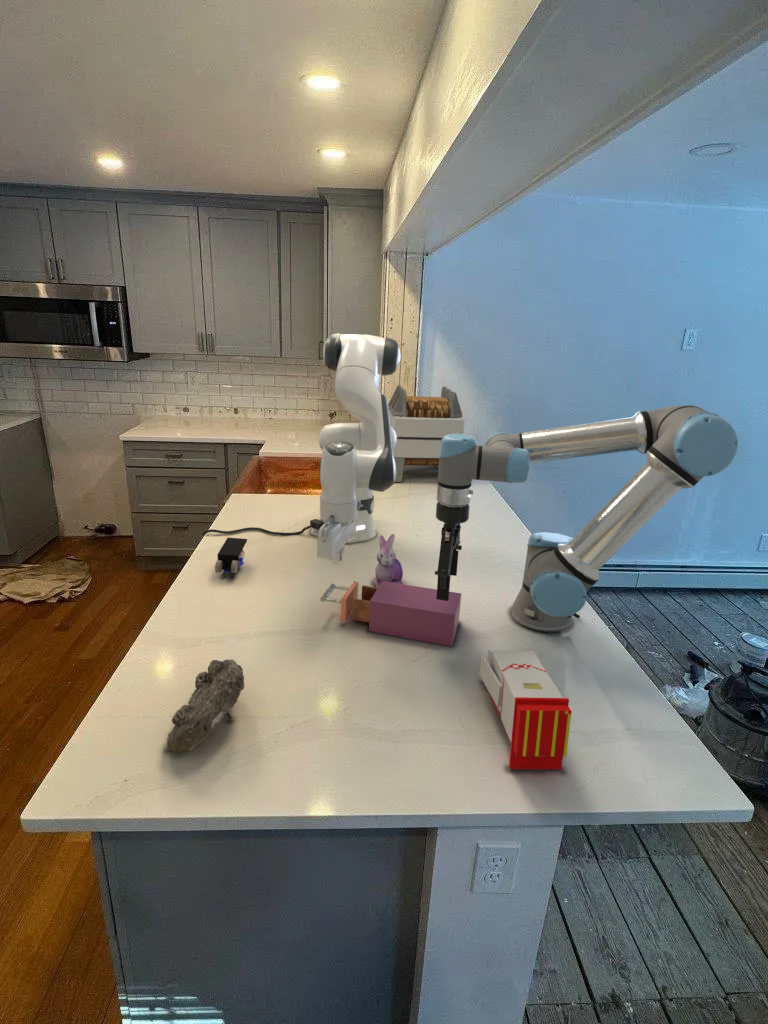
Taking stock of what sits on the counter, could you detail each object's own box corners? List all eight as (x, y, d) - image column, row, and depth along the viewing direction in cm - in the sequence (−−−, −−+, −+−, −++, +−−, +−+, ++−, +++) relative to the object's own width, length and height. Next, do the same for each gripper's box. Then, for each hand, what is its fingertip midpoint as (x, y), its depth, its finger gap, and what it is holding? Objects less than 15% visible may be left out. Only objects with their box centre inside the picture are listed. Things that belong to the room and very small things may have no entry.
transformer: (382, 463, 289) (386, 382, 275) (445, 464, 293) (451, 384, 279) (390, 482, 257) (394, 392, 243) (460, 483, 261) (468, 394, 247)
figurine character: (238, 584, 162) (249, 557, 175) (236, 562, 158) (247, 536, 172) (215, 584, 161) (227, 556, 175) (212, 561, 158) (225, 535, 171)
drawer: (318, 617, 142) (318, 594, 140) (332, 598, 152) (332, 577, 149) (416, 634, 137) (418, 611, 134) (424, 614, 146) (426, 592, 144)
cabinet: (368, 631, 139) (369, 600, 136) (380, 609, 149) (382, 580, 147) (452, 646, 134) (455, 615, 132) (458, 622, 145) (461, 593, 142)
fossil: (192, 660, 117) (244, 628, 112) (224, 691, 120) (276, 661, 115) (142, 746, 98) (202, 712, 93) (182, 779, 101) (242, 748, 96)
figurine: (381, 594, 157) (383, 544, 152) (365, 579, 165) (367, 531, 160) (411, 588, 161) (414, 539, 156) (393, 573, 169) (396, 527, 164)
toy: (530, 632, 124) (581, 706, 94) (525, 688, 126) (573, 777, 97) (475, 631, 123) (509, 705, 94) (471, 687, 126) (503, 777, 96)
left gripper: (336, 526, 127) (335, 581, 131) (362, 499, 145) (361, 548, 150) (309, 522, 128) (310, 577, 133) (339, 496, 147) (338, 545, 151)
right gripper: (462, 523, 117) (455, 613, 124) (475, 488, 139) (468, 567, 147) (426, 518, 118) (421, 608, 125) (445, 485, 141) (439, 563, 148)
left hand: (337, 562), depth 142 cm, fingers closed
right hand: (446, 586), depth 136 cm, fingers open, 13 cm apart
